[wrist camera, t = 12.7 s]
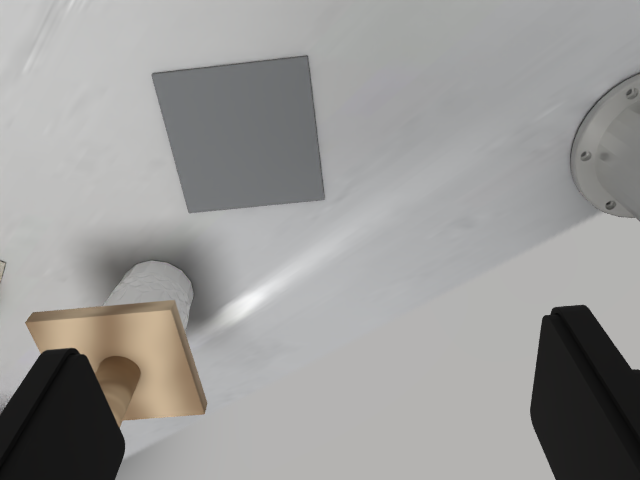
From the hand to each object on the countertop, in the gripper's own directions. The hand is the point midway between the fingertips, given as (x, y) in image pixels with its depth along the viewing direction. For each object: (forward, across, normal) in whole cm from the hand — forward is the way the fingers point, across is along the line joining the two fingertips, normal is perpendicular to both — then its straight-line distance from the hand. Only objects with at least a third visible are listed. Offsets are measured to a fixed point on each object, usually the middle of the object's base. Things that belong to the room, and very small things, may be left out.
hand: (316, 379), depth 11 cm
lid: (+23, +18, +20) cm, 35 cm away
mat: (+33, +7, +6) cm, 35 cm away
